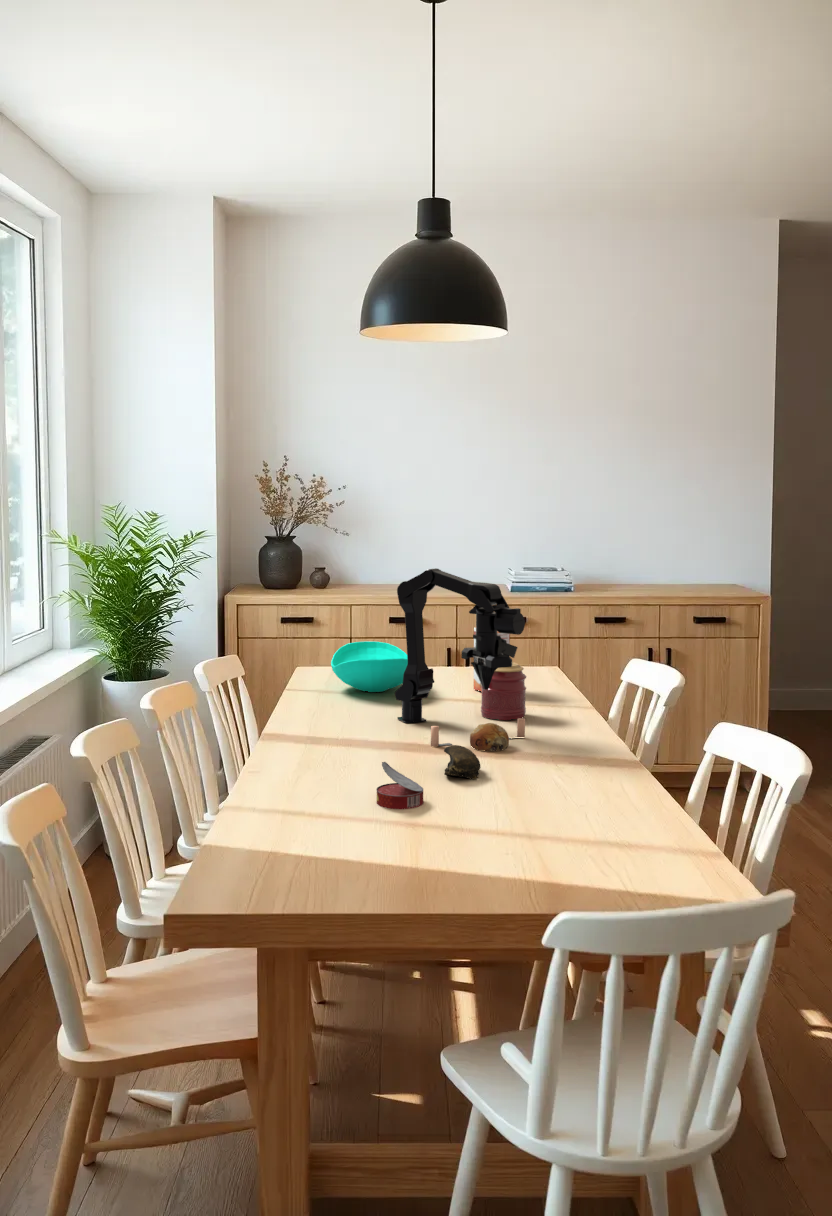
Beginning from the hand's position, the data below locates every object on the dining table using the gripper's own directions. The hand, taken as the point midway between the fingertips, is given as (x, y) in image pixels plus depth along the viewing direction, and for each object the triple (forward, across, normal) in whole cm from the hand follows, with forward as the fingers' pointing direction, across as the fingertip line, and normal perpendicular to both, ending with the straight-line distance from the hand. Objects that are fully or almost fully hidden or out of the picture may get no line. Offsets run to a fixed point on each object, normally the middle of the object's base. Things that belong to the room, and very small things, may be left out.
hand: (485, 689), depth 293 cm
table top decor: (+12, +69, +5) cm, 70 cm away
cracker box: (+12, +51, -28) cm, 59 cm away
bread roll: (+12, -14, +6) cm, 20 cm away
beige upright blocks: (+12, -8, +6) cm, 16 cm away
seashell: (+12, -35, +24) cm, 44 cm away
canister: (+12, +18, -15) cm, 26 cm away
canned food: (+12, -51, +46) cm, 70 cm away
